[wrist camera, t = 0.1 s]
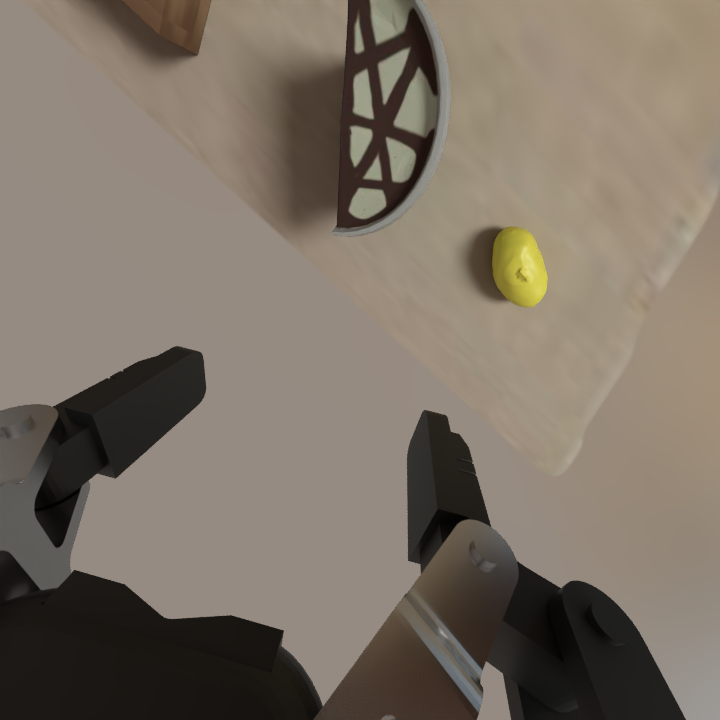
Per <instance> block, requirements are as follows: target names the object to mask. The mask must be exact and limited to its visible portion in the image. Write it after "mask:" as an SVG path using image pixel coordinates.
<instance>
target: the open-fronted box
mask: <svg viewBox="0 0 720 720" xmlns="http://www.w3.org/2000/svg"><path fill="white" fill-rule="evenodd" d="M122 1H123V2H124V3H125V4H126V5H127V6H128V7H129V8H130V9H132V10H133V11H134V12H135V13H136V14H137V15H138V16H139V17H140V18H141V19H142V20H143V21H144V22H145V23H147V24H148V25H149V26H150V27H151V28H152V29H153V30H154V31H155V32H156V33H157V34H158V35H160V36H162V37H164V38H165V39H167V40H169V41H171V42H173V43H175V44H177V45H179V46H181V47H183V48H185V49H187V50H189V51H191V52H193V53H195V54H197V55H198V52H199V48H200V44H201V39H202V35H203V31H204V27H205V23H206V19H207V15H208V11H209V7H210V3H211V0H122Z"/></svg>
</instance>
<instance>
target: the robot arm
mask: <svg viewBox="0 0 720 720" xmlns="http://www.w3.org/2000/svg"><path fill="white" fill-rule="evenodd" d="M205 392H206V381H205V371H204V360H203V355H202V354H201V352H198V351H194V350H191V349H187V348H183V347H179V346H176V347H173V348H171V349H169V350H167V351H165V352H164V353H162V354H160V355H158V356H156V357H152V358H148V359H145V360H142V361H139V362H137V363H135V364H133V365H131V366H129V367H127V368H125V369H124V370H123V372H122V371H120V372H118V373H116V374H114V375H112V376H111V377H110V379H108V378H106V379H105V380H103V381H101V382H99V383H97V384H95V385H93V386H92V387H89V388H88V389H86V390H84V391H82V392H80V393H78V394H76V395H74V396H73V397H71V398H69V399H67V400H65V401H63V402H61V403H59V404H57V405H56V406H53V407H51V406H48V405H41V404H33V405H23V406H17V407H13V408H8V409H5V410H2V411H0V720H477V717H478V715H479V711H480V708H481V704H482V699H483V687H482V686H481V684H480V679H481V674H482V671H483V668H484V666H485V663H486V661H487V662H488V663H490V664H491V665H492V666H494V667H495V668H496V669H498V670H499V671H500V672H502V673H503V676H504V682H505V687H506V693H507V698H508V704H509V710H510V715H511V720H686V719H685V717H684V715H683V713H682V711H681V710H680V708H679V706H678V704H677V702H676V700H675V698H674V696H673V694H672V693H671V691H670V689H669V687H668V685H667V683H666V681H665V679H664V678H663V676H662V674H661V672H660V670H659V668H658V666H657V664H656V662H655V661H654V659H653V657H652V655H651V653H650V651H649V649H648V647H647V646H646V644H645V642H644V640H643V638H642V637H641V635H640V633H639V631H638V630H637V628H636V627H635V626H634V624H633V622H632V621H631V620H630V618H629V617H628V616H627V615H626V613H624V611H623V610H622V609H621V608H620V607H619V606H618V605H617V604H616V603H615V602H614V601H613V600H612V599H611V598H609V597H608V596H607V595H606V594H604V593H603V592H602V591H600V590H599V589H597V588H596V587H594V586H592V585H590V584H588V583H585V582H582V581H570V582H569V583H567V584H566V585H564V586H563V587H562V588H560V587H558V586H556V585H555V584H553V583H551V582H549V581H548V580H546V579H545V578H543V577H541V576H539V575H538V574H536V573H535V572H533V571H531V570H530V569H528V568H526V567H525V566H523V565H522V564H520V563H519V562H517V560H516V558H515V556H514V553H513V551H512V550H511V548H510V546H509V545H508V544H507V542H506V541H505V540H504V539H503V538H502V536H501V535H500V534H498V532H497V531H495V530H494V529H493V528H492V527H491V525H490V521H489V518H488V514H487V510H486V507H485V503H484V500H483V496H482V493H481V490H480V486H479V483H478V479H477V476H476V472H475V468H474V464H472V457H471V454H470V450H469V447H468V446H467V444H466V443H465V442H464V440H463V439H462V437H461V436H460V435H459V434H456V433H453V432H451V431H450V426H449V422H448V418H447V416H446V415H442V414H439V413H435V412H431V411H427V410H424V411H423V412H422V414H421V417H420V419H419V422H418V424H417V426H416V430H415V431H414V434H413V436H412V439H411V441H410V445H409V449H408V455H407V492H408V493H407V495H408V561H411V562H415V563H418V564H421V575H420V576H419V578H418V579H417V580H416V582H415V583H414V585H413V586H412V587H411V589H410V590H409V591H408V593H407V594H405V596H404V597H403V598H402V600H401V601H400V602H399V603H398V605H397V606H396V607H395V609H394V610H393V611H392V613H391V614H390V616H389V617H388V618H387V620H386V621H385V622H384V624H383V625H382V627H381V628H380V629H379V631H378V632H377V633H376V635H375V636H374V638H373V639H372V640H371V642H370V643H369V645H368V646H367V647H366V648H365V650H364V651H363V653H362V654H361V655H360V657H359V658H358V659H357V661H356V662H355V664H354V665H353V667H352V668H351V669H350V670H349V672H348V673H347V675H346V676H345V677H344V679H343V680H342V681H341V683H340V684H339V685H338V687H337V688H336V690H335V691H334V692H333V694H332V695H331V697H330V698H329V699H328V701H327V702H326V703H325V705H324V706H322V703H321V700H320V697H319V695H318V693H317V691H316V689H315V687H314V685H313V683H312V681H311V679H310V678H309V676H308V675H307V673H306V672H305V670H304V668H303V667H302V666H301V664H300V663H299V662H298V661H297V660H296V659H295V658H294V657H293V655H291V654H290V653H289V652H288V651H287V650H285V649H284V648H283V647H282V646H281V645H282V638H283V632H284V631H283V630H280V629H276V628H273V627H269V626H266V625H262V624H259V623H256V622H252V621H249V620H245V619H242V618H238V617H235V616H231V615H230V616H215V617H198V618H183V619H167V618H164V617H163V616H161V615H160V614H159V613H158V612H156V611H155V610H154V609H153V608H152V607H151V606H149V605H148V604H147V603H146V602H145V601H143V600H142V599H141V598H140V597H139V596H138V595H136V594H135V593H134V592H133V591H132V590H131V589H129V588H128V587H127V586H126V585H125V584H121V583H117V582H114V581H111V580H107V579H103V578H100V577H97V576H94V575H90V574H87V573H83V572H80V571H76V570H74V571H73V572H72V573H71V569H70V556H71V551H72V548H73V544H74V541H75V538H76V534H77V531H78V527H79V524H80V521H81V517H82V514H83V511H84V507H85V504H86V501H87V497H88V494H89V490H90V483H89V481H88V480H89V479H91V478H92V477H93V476H94V475H96V474H97V473H98V474H101V475H105V476H108V477H112V478H117V477H118V476H119V475H120V474H121V473H122V472H123V471H125V470H126V469H127V468H128V467H129V466H130V465H131V464H132V463H134V462H135V461H136V460H137V459H138V458H139V457H140V456H141V455H143V454H144V453H145V452H146V451H147V450H148V449H149V448H150V447H152V446H153V445H154V444H155V443H156V442H157V441H158V440H159V439H161V438H162V437H163V436H164V435H165V434H166V433H167V432H168V431H169V430H170V429H172V428H173V427H174V426H175V425H176V424H177V423H178V422H180V420H182V419H183V418H184V417H185V416H186V415H187V414H188V413H190V412H191V411H192V410H193V409H194V408H195V407H196V406H197V405H198V404H200V402H201V401H202V399H203V398H204V395H205Z"/></svg>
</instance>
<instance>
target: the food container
mask: <svg viewBox="0 0 720 720" xmlns="http://www.w3.org/2000/svg"><path fill="white" fill-rule="evenodd" d="M450 97H451V92H450V80H449V69H448V64H447V59H446V55H445V50H444V45H443V43H442V40H441V37H440V34H439V32H438V29H437V26H436V23H435V21H434V19H433V18H432V16H431V14H430V12H429V10H428V9H427V7H426V5H425V3H424V1H423V0H348V24H347V41H346V58H345V74H344V89H343V102H342V116H341V140H340V170H339V192H338V212H337V226H336V227H335V229H334V230H333V231H332V232H331V233H332V234H334V236H347V237H352V236H361V235H366V234H370V233H373V232H376V231H378V230H381V229H383V228H385V227H387V226H389V225H390V224H392V223H393V222H395V221H396V220H398V219H399V218H400V217H402V216H403V215H404V214H405V213H406V212H407V211H408V210H409V209H410V208H411V207H412V206H413V205H414V204H415V202H416V201H417V200H418V199H419V197H420V196H421V195H422V194H423V192H424V190H425V189H426V187H427V185H428V184H429V182H430V180H431V179H432V177H433V175H434V172H435V170H436V168H437V165H438V163H439V161H440V158H441V155H442V151H443V148H444V144H445V141H446V136H447V130H448V124H449V118H450Z"/></svg>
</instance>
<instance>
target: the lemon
mask: <svg viewBox="0 0 720 720" xmlns="http://www.w3.org/2000/svg"><path fill="white" fill-rule="evenodd" d="M541 255H542V254H541V253H540V252H539V250H538V247H537V244H536V241H535V239H534V237H533V236H532V234H531V233H529V232H528V231H527V230H525V229H522V228H519V227H507V228H505V229H503V230H502V231H501V232H500V233H499V234H498V235H497V237H496V239H495V242H494V246H493V258H492V269H493V271H492V274H493V278H494V280H495V283H496V285H497V287H498V288H499V290H500V291H501V292H502V294H503V295H504V296H505V297H506V298H507V299H508V300H509V301H511V302H512V303H514V304H515V305H518V306H521V307H533V306H535V305H536V304H537V303H538V302H539V301H540V300H541V299H542V298H543V296H544V294H545V292H546V289H547V280H548V276H547V272H546V269H545V266H544V262H543V258H542V256H541Z"/></svg>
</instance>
